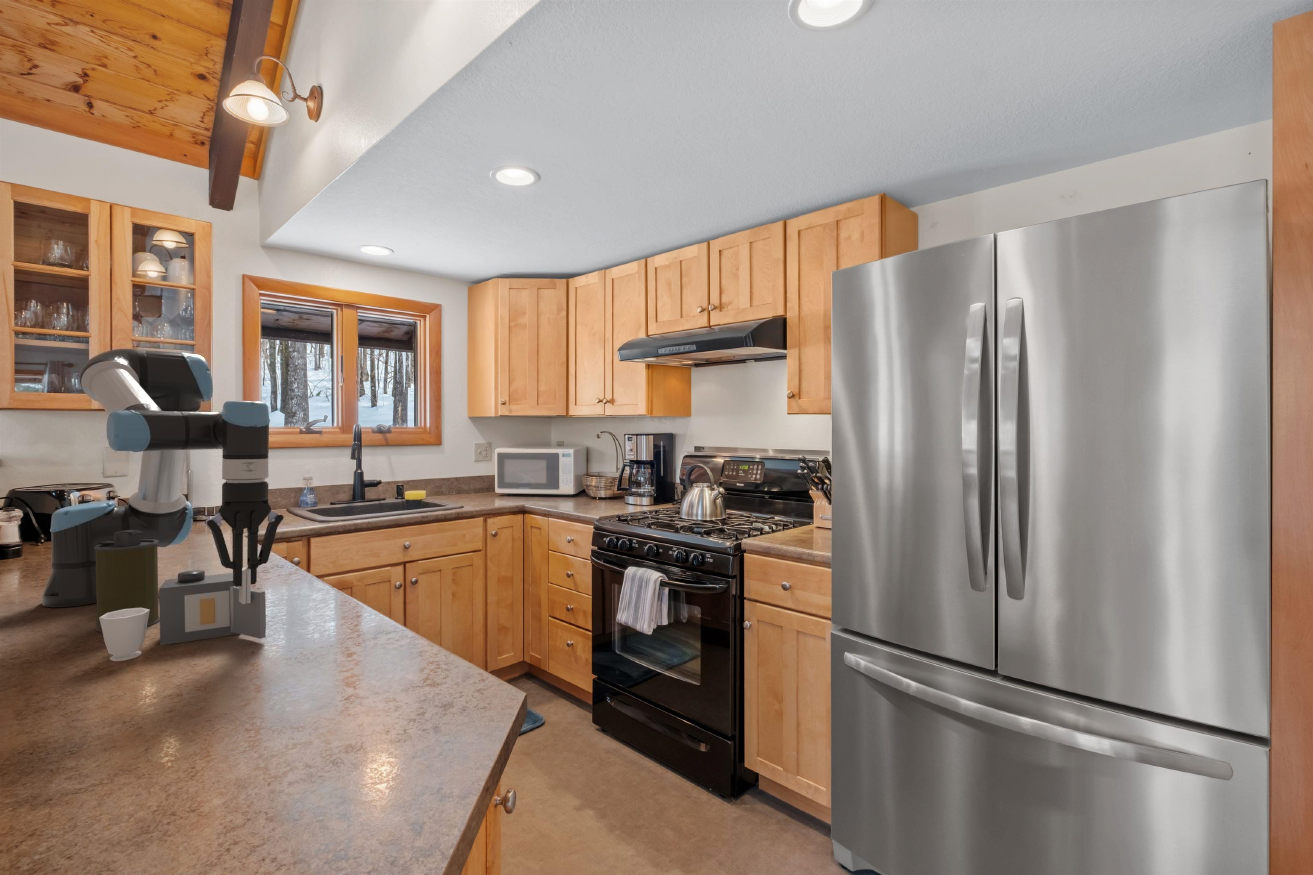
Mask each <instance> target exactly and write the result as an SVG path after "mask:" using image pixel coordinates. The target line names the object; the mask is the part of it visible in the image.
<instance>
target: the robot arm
mask: <svg viewBox="0 0 1313 875" xmlns="http://www.w3.org/2000/svg"><path fill="white" fill-rule="evenodd" d="M78 379H79V381H78V382H79V384H80V388H81V389H82V391H83V393H85V394H86V395H87V396H88V397H89V398H90V399H91V400H94V401H95V402H97V403H99V404H100V406H101V407H102V408H103V410H104V411H105V412H106V414H107V415H108V416H107V420H106V438H107V439H106V440H107V442H108V446H109V448H111V449H112V450H114V451H116V452H132V453H139V452H142V454H141V455H142V456H141V464H140V469H139V470H140V471H139V479H138V480H139V481H138V486H137V491H136V492H134V493H133V494H132V495H130V496H129V499H128V504H125V505H117V503H116V502H115V500H103V501H102V500H100V501H93V502H86V503H79V504H75V505H70V506H66V507H62V508H59V509H57V510H56V511H54V512H53V513H52V514H51V521H50V529H49V531H50V533H51V534H50V535H51V536H50V537H51V573H50V575H49V577H48V580H47V583H46V585H45V587H44V590H43V593H42V595H41V596H42V597H41V600H42V601H41V602H42V603H41V604H42V606H43V607H46V608H69V607H71V608H72V607H77V606H85V605H86V606H87V605H92V604H97V594H96V550H95V549H94V547H95V546H96V545H98V544H99V543H101V542H106V541H113V538H114V533H115V532H119V531H125V530H140V531H142V534H141V539H155V540H158V541H159V542H158V544H157V548H159V547H160V548H166V547H169V546H176V545H179V544H180V545H181V544H182V543H183V542H185V541H186V540H187V539H188V538H189V535H190V533H191V531H192V527H193V524H194V523H193V522H194V519H193V516H194V510H193V506H192V504H191V503H190V502H189V501H187V499H186V496H185V495H183V494H182V493H181V490H182V484H183V479H184V478H183V476H184V471H185V463H186V455H187V451H190V450H191V451H195V450H196V451H197V450H198V451H199V450H202V451H203V450H222V455H221V457H222V458H221V459H222V460H221V461H222V464H221V465H222V468H221V479H222V480H223V481H224V480H225V481H224V482H223V483H222V484H221V505H220V508H219V509H218V513H217V514H215V515H214V516H212V517H210V518H206V519H205V520H204V524H205V526H207V527H208V528H209V530H210V531H211V534H212V538H213V542H214V544H215V548H216V551H217V553H218V554H217V555H218V558H219V560H220V563H221V566H222V567H224V568H225V569H230V570H232V573H233V584H234V586H235V587H239V602H240V603H242V604H247V603H250V596H251V589H252V588H251V587H252V585H256V583H257V582H258V581H257V578H258V576H257V575H258V573H257V572H258V570H257V569H258V568H259V566H261V565H263V564H264V565H265V564H267V563H268V562H269V559H270V556H271V552H272V548H273V545H274V542H275V538H276V533H277V531H278V527H279V525H280V524H281V523H282V521H283V520H284V515H283V514H281V513H277V512H275V511H274V510H272V506H271V505H270V503H269V482H268V481H266V479H268V478H269V452H270V451H269V449H270V444H269V443H270V442H269V439H270V438H269V437H270V422H271V420H270V414H269V412H270V411H269V406H268V405H267V403H266V402H263V401H253V400H252V401H249V400H228V401H227V400H226V401H225V402H224V403H223V405H222V410H221V411H200V410H201V405H202V402H203V403H206V402H210V401H211V400H212V398H213V392H214V388H213V387H214V386H213V384H214V383H213V376H212V373H211V368H210V366H209V364H208V362H207V360H206V359H205V357H203V356H202V355H200V354H196V353H195V354H194V353H186V352H183V351H180V352H176V351H166V350H165V351H163V350H162V351H161V350H151V349H150V350H149V349H148V350H147V349H137V348H136V349H135V348H117V349H112V350H107V351H104V352H100V353H98V354H97V355H94V356H93V357H91V358H90V359H88V361H86V363H84V365H83V366H82V367H81V369H80V372H79V375H78ZM266 518H267V522H268V523H267V526H266V529H265V532H264V536H263V539H262V543H261V547H260V549H258V548H259V531H260V530H259V528H260V526H261V525H262V524H263V522H264V521H265V520H266ZM222 520H223V521H224V522H225V523H226V524H227V525H228V526H229V527H230V528H231V533H232V538H231V539H232V541H231V542H232V557H230V554H229V553H230V552H229V550H228V548H227V544H226V541H225V537H224V534H223V531H222V529H221V527H222V526H223V523H222ZM245 529H246V532H247V544H246V545H247V546H246V547H247V549H246V550H247V554H246V557H247V558H246V560H247V561H246V564H247V567H244V530H245ZM258 550H259V552H258ZM231 558H232V559H231Z"/></svg>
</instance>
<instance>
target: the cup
mask: <svg viewBox="0 0 1313 875" xmlns="http://www.w3.org/2000/svg"><path fill="white" fill-rule="evenodd" d="M149 611H150V610H149V609H145V608H131V609H122V610H118V611H113V612H109V613H106V614H104V615H103V616H101V617H99V619H100V623H101V627H102V632H101V633H102V635H103V641H104V644H105V647H106V649H107V650H106V651H108V654H109V655H112V656H110V657H109V660H110V661H113V662H122V661H127V660H128V661H129V660H131V659H135V658H138V657H139V656H141V655H142V651H140V649H142V648H143V646H144V645H143V644H144V641H145V638H146V634H147V629H148V626H147V622H148V617H149Z"/></svg>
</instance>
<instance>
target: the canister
mask: <svg viewBox="0 0 1313 875" xmlns="http://www.w3.org/2000/svg"><path fill="white" fill-rule="evenodd" d="M141 534H142V531H140V530H125V531H119V532H115V533H114V538H113V541H106V542H101V543H99V544H98V545H96V546H95V547H94V549H95V550H96V594H97V603H96V627H95V631H96V632H99V633H103V632H102V627H101V623H100V619H99V617H101V616H103V615H104V614H106V613H109V612H113V611H118V610H122V609H131V608H145V609H149V610H150V611H149V617H148V622H147V627H150V626H152V625H155V624H157V623H158V622H160V608H159V566H158V565H159V563H158V561H159V560H158V559H159V558H158V557H159V556H158V547H157V544H158V542H159V541H158V540H155V539H141Z"/></svg>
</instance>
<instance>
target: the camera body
mask: <svg viewBox="0 0 1313 875" xmlns="http://www.w3.org/2000/svg"><path fill="white" fill-rule="evenodd" d="M231 586H234V584H233V572H229V573H220V574H209V575H206V571H205V570H203V569H194V570H187V571H182V572H179V573H177V578H170V579H165V580H164V581H163V583H162V584H161V586H160V587H158V603H159V617H160V621H159V642H160V643H159V645H160V646H164V645H172V644H177V643H178V644H179V643H185V642H192V641H199V640H205V639H206V640H207V639H213V638H219V637H226V636H227V637H229V636H232V635H233V636H234V635H240V634H239V633H235V632H231V618H230V587H231Z"/></svg>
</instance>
